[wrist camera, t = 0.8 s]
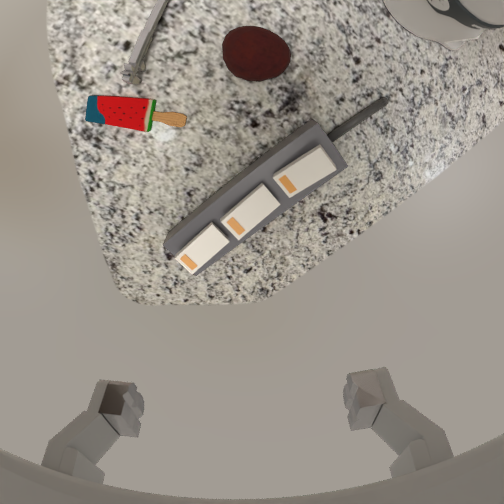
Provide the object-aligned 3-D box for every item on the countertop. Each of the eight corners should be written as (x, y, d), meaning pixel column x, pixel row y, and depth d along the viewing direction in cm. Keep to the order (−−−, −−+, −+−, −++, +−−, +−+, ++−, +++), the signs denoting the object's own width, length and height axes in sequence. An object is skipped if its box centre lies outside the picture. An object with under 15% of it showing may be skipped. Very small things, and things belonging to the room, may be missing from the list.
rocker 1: (211, 221, 41) (212, 224, 40) (228, 238, 43) (229, 242, 42) (175, 254, 42) (174, 259, 41) (192, 270, 44) (192, 275, 43)
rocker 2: (261, 182, 39) (263, 185, 37) (278, 202, 40) (280, 204, 39) (220, 219, 40) (220, 222, 38) (237, 237, 41) (238, 240, 40)
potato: (260, 94, 37) (261, 97, 32) (210, 57, 34) (204, 54, 29) (297, 56, 34) (304, 52, 29) (247, 18, 31) (247, 8, 26)
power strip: (371, 78, 35) (385, 79, 31) (397, 119, 38) (412, 124, 33) (168, 232, 47) (160, 248, 43) (199, 261, 50) (195, 279, 46)
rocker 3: (320, 144, 34) (320, 147, 33) (335, 165, 36) (336, 170, 35) (273, 173, 38) (272, 178, 37) (289, 193, 39) (289, 198, 38)
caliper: (142, 83, 36) (125, 85, 30) (134, 82, 35) (117, 83, 30) (193, -43, 26) (184, -60, 20) (185, -44, 25) (175, -61, 20)
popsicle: (181, 138, 39) (84, 123, 37) (183, 136, 40) (89, 121, 38) (188, 105, 36) (88, 93, 35) (190, 104, 38) (93, 92, 36)
